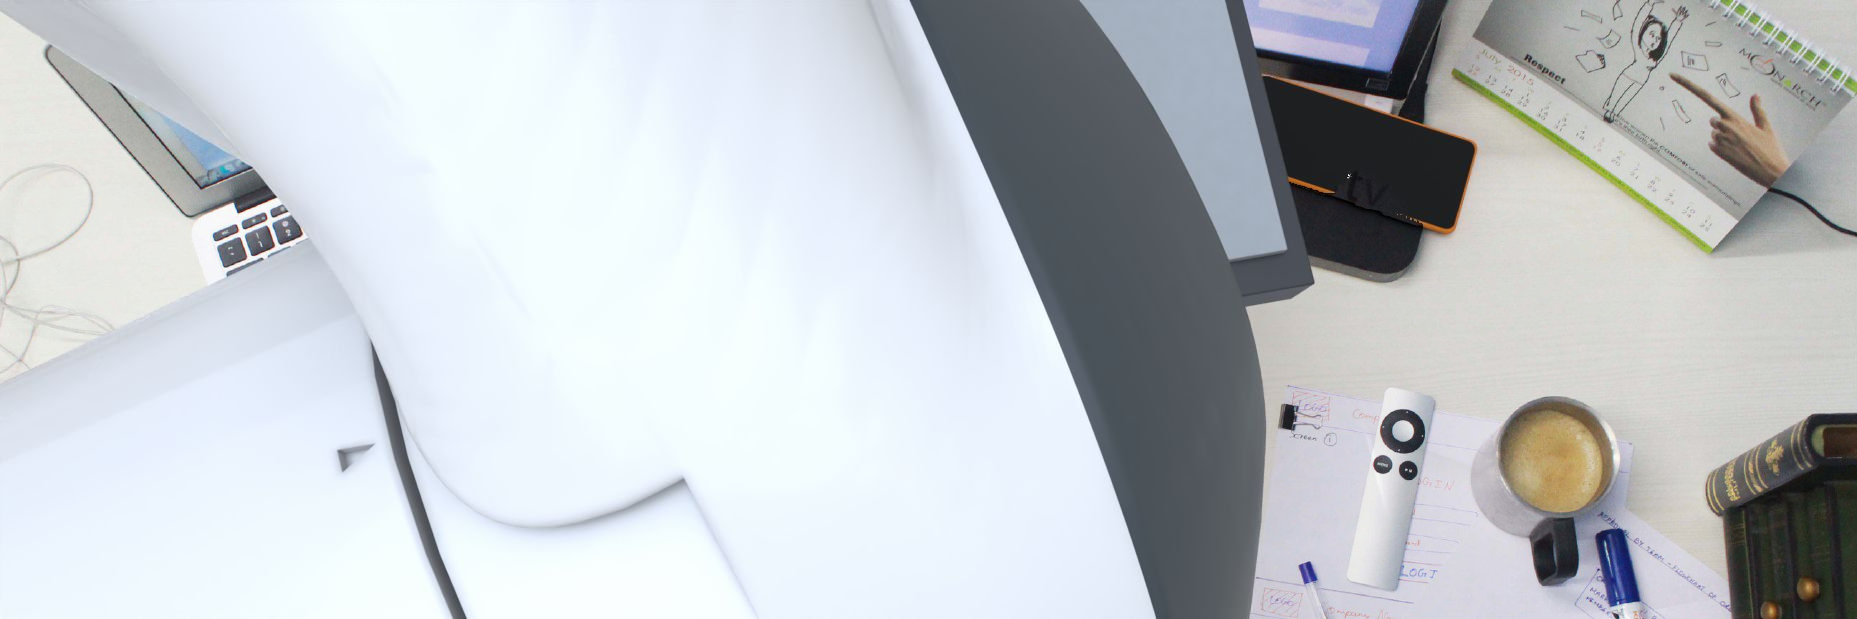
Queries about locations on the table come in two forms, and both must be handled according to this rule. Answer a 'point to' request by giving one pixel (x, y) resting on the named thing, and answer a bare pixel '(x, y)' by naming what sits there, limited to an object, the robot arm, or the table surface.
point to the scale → (1218, 129)
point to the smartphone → (1371, 151)
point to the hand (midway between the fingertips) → (759, 281)
